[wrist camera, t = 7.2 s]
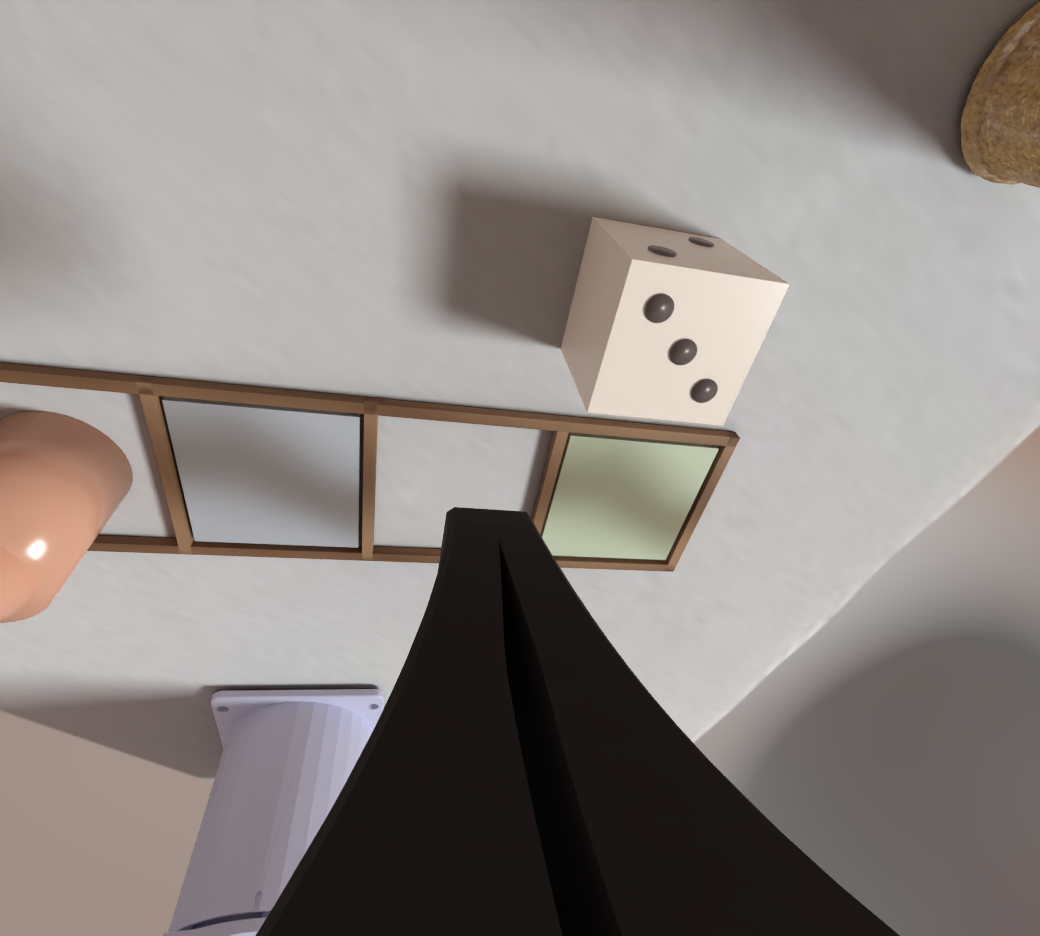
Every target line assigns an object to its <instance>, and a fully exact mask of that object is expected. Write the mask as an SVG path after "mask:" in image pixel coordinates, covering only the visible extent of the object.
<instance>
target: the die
mask: <svg viewBox="0 0 1040 936" xmlns="http://www.w3.org/2000/svg"><path fill="white" fill-rule="evenodd" d="M789 285H790V284H789V283H787V282H786V281H784V280H783V279H781V278H780V277H778V276H777V275H775V274H774V273H772V272H770V271H769V270H767V269H766V268H764V267H763V266H761V265H760V264H758V263H757V262H755V261H754V260H752V259H751V258H749V257H748V256H746V255H745V254H743V253H742V252H740V251H739V250H737V249H736V248H734V247H733V246H731V245H730V244H728V243H727V242H725V241H724V240H722V239H718V238H712V237H707V236H701V235H695V234H689V233H684V232H678V231H672V230H666V229H661V228H655V227H649V226H643V225H637V224H632V223H626V222H620V221H614V220H609V219H603V218H597V217H592V221H591V225H590V229H589V234H588V238H587V242H586V246H585V250H584V254H583V258H582V263H581V267H580V271H579V275H578V279H577V283H576V287H575V292H574V296H573V300H572V304H571V308H570V312H569V316H568V321H567V325H566V329H565V333H564V337H563V341H562V346H561V350H562V353H563V355H564V358H565V360H566V362H567V365H568V367H569V370H570V372H571V374H572V377H573V379H574V382H575V384H576V386H577V389H578V391H579V394H580V396H581V398H582V401H583V403H584V406H585V408H586V410H587V412H588V413H598V414H609V415H619V416H630V417H640V418H651V419H661V420H671V421H682V422H692V423H703V424H713V425H724V422H725V420H726V418H727V416H728V414H729V412H730V410H731V408H732V405H733V403H734V401H735V399H736V397H737V395H738V393H739V391H740V389H741V386H742V384H743V382H744V380H745V378H746V376H747V374H748V372H749V369H750V367H751V365H752V363H753V361H754V359H755V357H756V355H757V352H758V350H759V348H760V346H761V344H762V342H763V340H764V338H765V335H766V333H767V331H768V329H769V327H770V325H771V323H772V321H773V318H774V316H775V314H776V312H777V310H778V308H779V306H780V304H781V301H782V299H783V297H784V295H785V293H786V291H787V289H788V287H789Z"/></svg>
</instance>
